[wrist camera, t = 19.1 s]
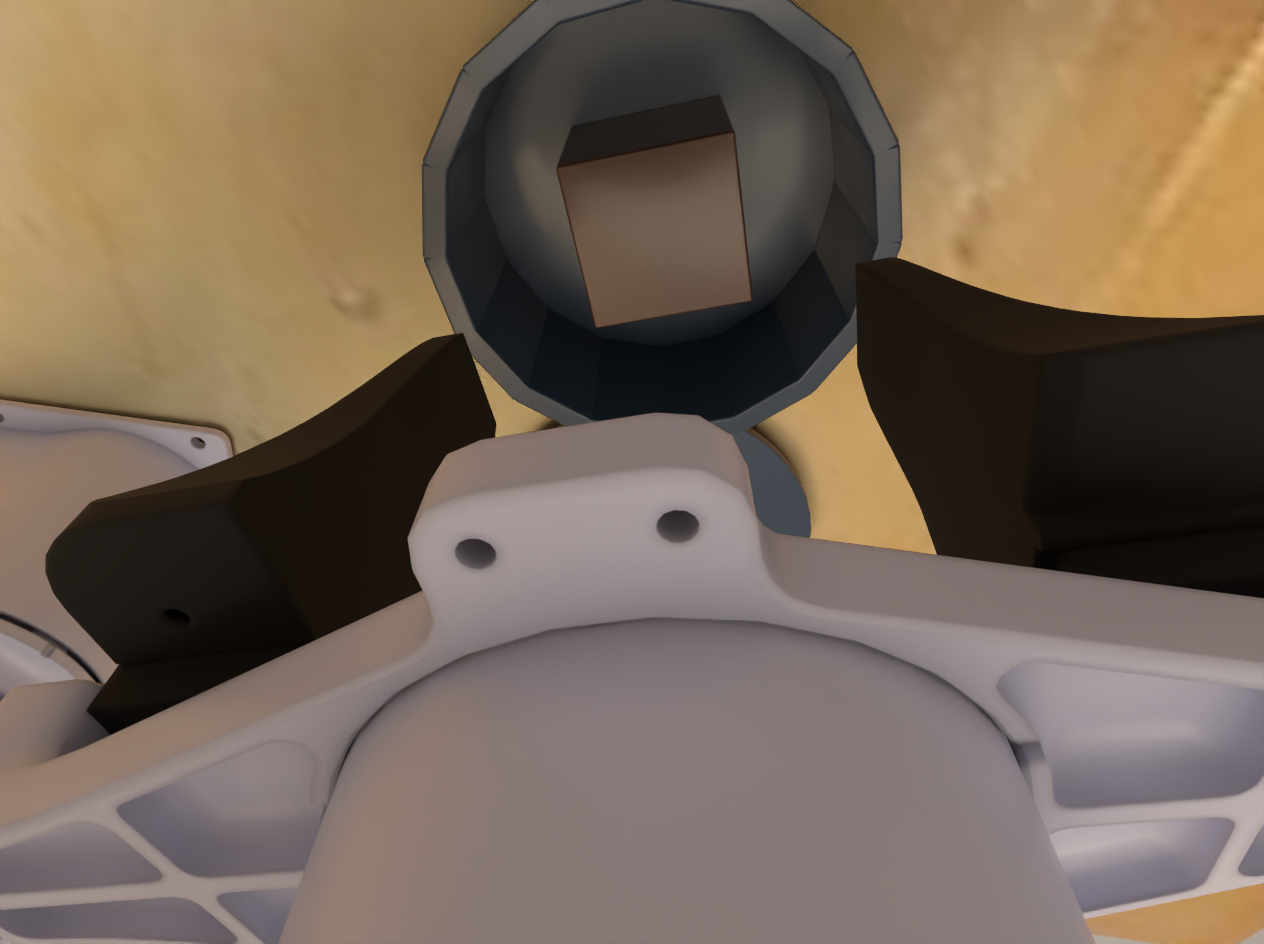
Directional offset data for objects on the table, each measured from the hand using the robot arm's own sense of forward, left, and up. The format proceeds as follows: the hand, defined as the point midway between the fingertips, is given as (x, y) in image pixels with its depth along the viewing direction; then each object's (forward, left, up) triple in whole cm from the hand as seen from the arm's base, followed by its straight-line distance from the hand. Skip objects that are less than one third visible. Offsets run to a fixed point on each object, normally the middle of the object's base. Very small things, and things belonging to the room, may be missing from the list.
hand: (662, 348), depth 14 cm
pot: (0, 0, -10) cm, 10 cm away
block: (0, 0, -10) cm, 10 cm away
